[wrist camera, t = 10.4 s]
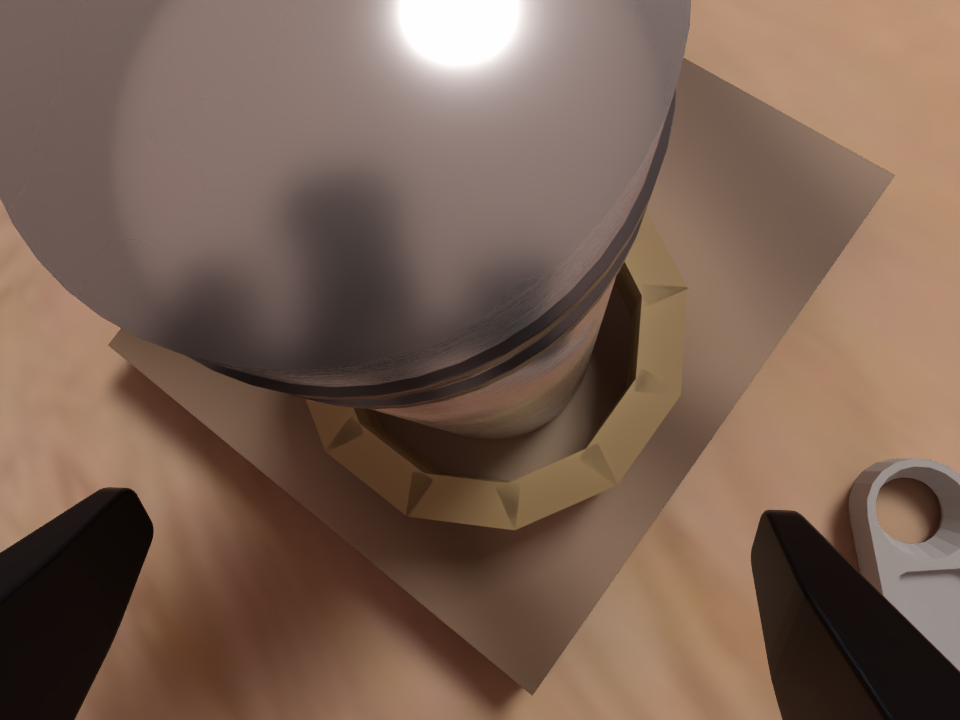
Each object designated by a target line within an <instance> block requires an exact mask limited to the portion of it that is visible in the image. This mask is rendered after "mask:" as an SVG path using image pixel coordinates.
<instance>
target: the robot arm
mask: <svg viewBox="0 0 960 720" xmlns="http://www.w3.org/2000/svg"><path fill="white" fill-rule="evenodd" d="M152 539H153V524H152V521H151V520H150V518H149V516H148V514H147V512H146V510H145V509H144V507H143V505H142V503H141V501H140V499H139V498H138V496H137V494H136V493H135V492H134V491H133V490H131V489H129V488H112V487H108V488H103V489H100V490H98V491H97V492H95V493H93V494H92V495H90V496H89V497H87V498H86V499H84V500H82V501H81V502H79V503H78V504H76V505H75V506H73V507H71V508H70V509H68V510H67V511H65V512H64V513H62V514H60V515H59V516H57V517H56V518H54V519H53V520H51V521H50V522H48V523H46V524H45V525H43V526H42V527H40V528H39V529H37V530H35V531H34V532H32V533H31V534H29V535H28V536H26V537H24V538H23V539H21V540H20V541H18V542H17V543H15V544H14V545H12V546H10V547H9V548H7V549H6V550H4V551H3V552H1V553H0V720H75V718H76V716H77V714H78V712H79V710H80V708H81V706H82V704H83V702H84V700H85V698H86V696H87V694H88V691H89V689H90V687H91V685H92V683H93V681H94V679H95V677H96V675H97V673H98V671H99V669H100V667H101V665H102V663H103V661H104V659H105V657H106V655H107V653H108V651H109V649H110V647H111V644H112V642H113V640H114V638H115V636H116V633H117V631H118V628H119V626H120V623H121V621H122V619H123V616H124V613H125V611H126V608H127V605H128V603H129V600H130V597H131V595H132V592H133V590H134V587H135V584H136V582H137V579H138V576H139V574H140V571H141V568H142V566H143V563H144V561H145V558H146V555H147V553H148V550H149V547H150V545H151V542H152ZM751 565H752V572H753V578H754V583H755V589H756V595H757V601H758V607H759V612H760V618H761V624H762V630H763V636H764V641H765V647H766V653H767V659H768V664H769V669H770V675H771V680H772V683H773V687H774V691H775V695H776V699H777V702H778V706H779V709H780V713H781V716H782V719H783V720H960V671H959V670H958V669H957V668H956V667H955V666H954V665H953V664H952V663H951V662H950V661H949V660H948V659H947V658H946V657H945V656H944V655H943V654H942V653H941V652H940V651H939V650H938V649H937V648H936V647H935V646H934V645H933V644H932V643H931V642H930V641H929V640H928V639H927V638H926V637H925V636H924V635H923V634H922V633H921V632H920V631H919V630H918V629H917V628H916V627H915V626H914V625H913V624H912V623H911V622H910V621H909V620H908V619H907V618H906V617H904V616H903V615H902V614H901V613H900V612H899V611H898V610H897V609H896V608H895V607H894V606H893V605H892V604H891V603H890V602H889V601H888V600H887V599H886V598H885V597H884V596H883V595H882V594H881V593H880V592H879V591H878V590H877V589H876V588H875V587H874V586H873V585H872V584H871V583H870V582H869V581H868V580H867V579H866V578H865V577H864V576H863V575H862V574H861V573H860V572H859V571H858V570H857V569H856V568H855V567H854V566H853V565H852V564H851V563H850V562H849V561H848V560H847V559H846V558H845V557H844V556H843V555H842V554H841V553H840V552H839V551H838V550H837V549H836V548H835V547H834V546H833V545H832V544H831V543H830V542H829V541H828V540H827V539H826V538H825V537H824V536H823V535H822V534H821V533H820V532H819V531H818V530H816V529H815V528H814V527H813V526H812V525H811V524H810V523H809V522H808V521H807V520H806V519H805V518H804V517H803V516H802V515H801V514H799V513H798V512H796V511H789V510H766V511H765V512H764V513H763V514H762V516H761V518H760V522H759V525H758V529H757V532H756V536H755V539H754V543H753V546H752V550H751Z"/></svg>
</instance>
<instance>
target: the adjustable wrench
mask: <svg viewBox="0 0 960 720" xmlns="http://www.w3.org/2000/svg"><path fill="white" fill-rule="evenodd" d="M901 477H904V478H913V479H916V480H919V481H922V482H924V483H925V484H926V485H928V486H929V487H930V488H931V489H932V490H933V491H934V493H935V494H936V495H937V498H938V501H939V503H940V506H941V521H940V524H939V528H938V530H937V531H936V533H935V534H934V535H933V537H932V538H930V539H929V540H927V541H926V542H921V543H917V544H909V543H903V542H900V541H897V540H895V539H893V538H891V537H890V536H889V535H888V534H886V533H885V532H884V531H883V530H882V528H881V527H880V525H879V522H878V520H877V517H876V499H877V496H878V493H879V489H880V488H881V487H882V486H883V485H884V484H885V483H887V482H889V481H890V480H893V479H897V478H901ZM849 516H850V522H851V527H852V532H853V537H854V543H855V548H856V553H857V559H858V564H859V569H860V573H861V574H862V575H863V576H864V577H865V578H866V579H867V580H868V581H869V582H870V583H871V584H872V585H873V586H874V587H875V588H876V589H877V590H878V591H879V592H880V593H881V594H882V595H883V596H884V597H885V598H886V599H887V600H888V601H889V602H890V603H891V604H892V605H893V606H894V607H895V608H896V609H897V610H898V611H899V612H900V613H901V614H902V615H903V616H904V617H906V618H907V619H908V620H909V621H910V622H911V623H912V624H913V625H914V626H915V627H916V628H917V629H918V630H919V631H920V632H921V633H922V634H923V635H924V636H925V637H926V638H927V639H928V640H929V641H930V642H931V643H932V644H933V645H934V646H935V647H936V648H937V649H938V650H939V651H940V652H941V653H942V654H943V655H944V656H945V657H946V658H947V659H948V660H949V661H950V662H951V663H952V664H953V665H954V666H955V667H956V668H957V669H958V670H959V671H960V474H958V473H957V472H956V471H954V470H953V469H951V468H950V467H949V466H947V465H944V464H941V463H938V462H936V461H933V460H928V459H914V458H911V459H890V460H886V461H881V462H877V463H875V464H873V465H872V466H870V467H869V468H867V469H865V470H864V471H863V472H862V473H861V474H860V475H859V477H858V478H857V479H856V480H855V482H854V483H853V486H852V489H851V492H850V495H849Z"/></svg>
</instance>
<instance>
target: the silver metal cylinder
mask: <svg viewBox="0 0 960 720" xmlns="http://www.w3.org/2000/svg"><path fill="white" fill-rule="evenodd" d="M690 6H691V0H0V198H1V200H2V202H3V204H4V206H5V208H6V210H7V212H8V214H9V216H10V219H11V221H12V223H13V225H14V226H15V228H16V229H17V230H18V232H19V233H20V235H21V236H22V238H23V239H24V241H25V242H26V243H27V245H28V246H29V248H30V249H31V251H32V252H33V254H34V255H35V256H36V258H37V259H38V260H39V261H40V262H41V263H42V265H43V266H44V267H45V268H46V269H47V270H48V271H49V272H50V273H51V274H52V275H53V276H54V277H55V278H56V279H57V280H58V281H59V282H60V284H61V285H62V286H63V287H64V288H65V289H66V290H67V291H69V292H70V293H71V294H72V295H74V296H75V297H76V298H78V299H79V300H80V301H81V302H83V303H84V304H85V305H87V306H88V307H89V308H90V309H92V310H93V311H94V312H96V313H97V314H98V315H100V316H101V317H102V318H104V319H106V320H108V321H110V322H111V323H113V324H115V325H117V326H119V327H120V328H122V329H124V330H126V331H128V332H129V333H131V334H133V335H135V336H137V337H138V338H140V339H142V340H145V341H148V342H150V343H153V344H156V345H158V346H161V347H164V348H166V349H169V350H172V351H174V352H177V353H180V354H182V355H185V356H187V357H189V358H191V359H193V360H194V361H196V362H198V363H200V364H202V365H204V366H205V367H207V368H209V369H211V370H213V371H215V372H218V373H220V374H223V375H226V376H228V377H231V378H234V379H236V380H239V381H242V382H244V383H247V384H249V385H253V386H257V387H261V388H265V389H269V390H273V391H278V392H282V393H287V394H289V395H292V396H296V397H300V398H304V399H308V400H312V401H317V402H321V403H326V404H330V405H335V406H340V407H353V408H365V409H372V410H375V411H378V412H382V413H385V414H389V415H392V416H396V417H399V418H403V419H406V420H410V421H413V422H416V423H420V424H423V425H427V426H430V427H434V428H437V429H441V430H444V431H448V432H451V433H454V434H458V435H461V436H465V437H469V438H474V439H481V440H504V439H509V438H515V437H518V436H521V435H525V434H528V433H530V432H532V431H534V430H536V429H538V428H540V427H542V426H543V425H545V424H547V423H548V422H550V421H551V420H552V419H554V418H555V417H556V416H557V415H558V414H559V413H561V412H562V411H563V409H564V408H565V407H566V406H567V405H568V404H569V403H570V401H571V400H572V398H573V397H574V396H575V394H576V393H577V391H578V389H579V387H580V385H581V383H582V381H583V379H584V376H585V373H586V370H587V367H588V364H589V361H590V358H591V355H592V351H593V348H594V345H595V342H596V339H597V336H598V332H599V329H600V326H601V323H602V320H603V317H604V313H605V310H606V307H607V304H608V301H609V298H610V294H611V291H612V288H613V285H614V282H615V278H616V276H617V274H618V273H619V271H620V269H621V267H622V265H623V263H624V261H625V259H626V257H627V256H628V254H629V252H630V250H631V248H632V246H633V244H634V242H635V240H636V237H637V234H638V232H639V229H640V226H641V223H642V220H643V217H644V214H645V211H646V208H647V206H648V203H649V200H650V197H651V194H652V192H653V189H654V186H655V183H656V180H657V177H658V174H659V171H660V168H661V165H662V163H663V160H664V157H665V154H666V151H667V148H668V142H669V137H670V132H671V127H672V122H673V116H674V111H675V100H676V85H677V82H678V79H679V76H680V72H681V67H682V62H683V57H684V52H685V46H686V41H687V36H688V31H689V26H690Z"/></svg>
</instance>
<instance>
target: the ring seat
mask: <svg viewBox="0 0 960 720" xmlns="http://www.w3.org/2000/svg"><path fill="white" fill-rule="evenodd" d="M894 176H895V175H894V174H892V173H890V172H889V171H887V170H885V169H883V168H881V167H880V166H878V165H876V164H874V163H872V162H871V161H869V160H867V159H865V158H863V157H862V156H860V155H858V154H856V153H854V152H853V151H851V150H849V149H847V148H845V147H844V146H842V145H840V144H838V143H836V142H835V141H833V140H831V139H829V138H827V137H825V136H824V135H822V134H820V133H818V132H816V131H815V130H813V129H811V128H809V127H807V126H806V125H804V124H802V123H800V122H798V121H797V120H795V119H793V118H791V117H789V116H788V115H786V114H784V113H782V112H780V111H779V110H777V109H775V108H773V107H771V106H770V105H768V104H766V103H764V102H762V101H761V100H759V99H757V98H755V97H753V96H752V95H750V94H748V93H746V92H744V91H743V90H741V89H739V88H737V87H735V86H734V85H732V84H730V83H728V82H726V81H724V80H723V79H721V78H719V77H717V76H715V75H714V74H712V73H710V72H708V71H706V70H705V69H703V68H701V67H699V66H697V65H696V64H694V63H692V62H690V61H688V60H687V59H685V58H683V62H682V67H681V72H680V76H679V79H678V82H677V85H676V100H675V111H674V116H673V122H672V127H671V132H670V137H669V142H668V148H667V151H666V154H665V157H664V160H663V163H662V165H661V168H660V171H659V174H658V177H657V180H656V183H655V186H654V189H653V192H652V194H651V197H650V200H649V203H648V206H647V208H646V211H645V214H644V217H643V220H642V223H641V226H640V229H639V232H638V234H637V237H636V240H635V242H634V244H633V246H632V248H631V250H630V252H629V254H628V256H627V257H626V259H625V261H624V263H623V265H622V267H621V269H620V271H619V273H618V274H617V276H616V278H615V282H614V285H613V288H612V291H611V294H610V298H609V301H608V304H607V307H606V310H605V313H604V317H603V320H602V323H601V326H600V329H599V332H598V336H597V339H596V342H595V345H594V348H593V351H592V355H591V358H590V361H589V364H588V367H587V370H586V373H585V376H584V379H583V381H582V383H581V385H580V387H579V389H578V391H577V393H576V394H575V396H574V397H573V398H572V400H571V401H570V403H569V404H568V405H567V406H566V407H565V408H564V409H563V411H562V412H561V413H559V414H558V415H557V416H556V417H555V418H554V419H552V420H551V421H550V422H548V423H547V424H545V425H543V426H542V427H540V428H538V429H536V430H534V431H532V432H530V433H528V434H525V435H521V436H518V437H515V438H509V439H504V440H481V439H474V438H469V437H465V436H461V435H458V434H454V433H451V432H448V431H444V430H441V429H437V428H434V427H430V426H427V425H423V424H420V423H416V422H413V421H410V420H406V419H403V418H399V417H396V416H392V415H389V414H385V413H382V412H378V411H375V410H372V409H365V408H353V407H340V406H335V405H330V404H326V403H321V402H317V401H312V400H308V399H304V398H300V397H296V396H292V395H289V394H287V393H282V392H278V391H273V390H269V389H265V388H261V387H257V386H253V385H249V384H247V383H244V382H242V381H239V380H236V379H234V378H231V377H228V376H226V375H223V374H220V373H218V372H215V371H213V370H211V369H209V368H207V367H205V366H204V365H202V364H200V363H198V362H196V361H194V360H193V359H191V358H189V357H187V356H185V355H182V354H180V353H177V352H174V351H172V350H169V349H166V348H164V347H161V346H158V345H156V344H153V343H150V342H148V341H145V340H142V339H140V338H138V337H137V336H135V335H133V334H131V333H129V332H128V331H126V330H124V329H122V328H121V329H120V331H119V332H118V333H117V334H116V336H115V337H114V338H113V340H112V341H111V342H110V343H109V346H110V347H111V348H112V349H113V350H115V351H116V352H117V353H118V354H120V355H121V356H122V357H123V358H124V359H126V360H127V361H128V362H129V363H130V364H132V365H133V366H134V367H135V368H136V369H138V370H139V371H140V372H141V373H143V374H144V375H145V376H146V377H147V378H149V379H150V380H151V381H152V382H153V383H155V384H156V385H157V386H158V387H159V388H161V389H162V390H163V391H164V392H166V393H167V394H168V395H169V396H170V397H172V398H173V399H174V400H175V401H176V402H178V403H179V404H180V405H181V406H182V407H184V408H185V409H186V410H187V411H189V412H190V413H191V414H192V415H193V416H195V417H196V418H197V419H198V420H199V421H201V422H202V423H203V424H204V425H205V426H207V427H208V428H209V429H210V430H212V431H213V432H214V433H215V434H216V435H218V436H219V437H220V438H221V439H222V440H224V441H225V442H226V443H227V444H228V445H230V446H231V447H232V448H233V449H234V450H236V451H237V452H238V453H239V454H241V455H242V456H243V457H244V458H245V459H247V460H248V461H249V462H250V463H251V464H253V465H254V466H255V467H256V468H257V469H259V470H260V471H261V472H262V473H264V474H265V475H266V476H267V477H268V478H270V479H271V480H272V481H273V482H274V483H276V484H277V485H278V486H279V487H280V488H282V489H283V490H284V491H285V492H287V493H288V494H289V495H290V496H291V497H293V498H294V499H295V500H296V501H297V502H299V503H300V504H301V505H302V506H303V507H305V508H306V509H307V510H308V511H310V512H311V513H312V514H313V515H314V516H316V517H317V518H318V519H319V520H320V521H322V522H323V523H324V524H325V525H326V526H328V527H329V528H330V529H331V530H333V531H334V532H335V533H336V534H337V535H339V536H340V537H341V538H342V539H343V540H345V541H346V542H347V543H348V544H349V545H351V546H352V547H353V548H354V549H356V550H357V551H358V552H359V553H360V554H362V555H363V556H364V557H365V558H366V559H368V560H369V561H370V562H371V563H372V564H374V565H375V566H376V567H377V568H379V569H380V570H381V571H382V572H383V573H385V574H386V575H387V576H388V577H389V578H391V579H392V580H393V581H394V582H395V583H397V584H398V585H399V586H400V587H401V588H403V589H404V590H405V591H406V592H408V593H409V594H410V595H411V596H412V597H414V598H415V599H416V600H417V601H418V602H420V603H421V604H422V605H423V606H424V607H426V608H427V609H428V610H429V611H431V612H432V613H433V614H434V615H435V616H437V617H438V618H439V619H440V620H441V621H443V622H444V623H445V624H446V625H447V626H449V627H450V628H451V629H452V630H454V631H455V632H456V633H457V634H458V635H460V636H461V637H462V638H463V639H464V640H466V641H467V642H468V643H469V644H470V645H472V646H473V647H474V648H475V649H477V650H478V651H479V652H480V653H481V654H483V655H484V656H485V657H486V658H487V659H489V660H490V661H491V662H492V663H493V664H495V665H496V666H497V667H498V668H500V669H501V670H502V671H503V672H504V673H506V674H507V675H508V676H509V677H510V678H512V679H513V680H514V681H515V682H516V683H518V684H519V685H520V686H521V687H523V688H524V689H525V690H526V691H527V692H529V693H530V694H531V695H533V694H534V693H535V691H536V690H537V688H538V687H539V685H540V684H541V682H542V681H543V680H544V678H545V677H546V675H547V674H548V672H549V671H550V670H551V668H552V667H553V665H554V664H555V662H556V661H557V660H558V658H559V657H560V655H561V654H562V652H563V651H564V650H565V648H566V647H567V645H568V644H569V642H570V641H571V639H572V638H573V637H574V635H575V634H576V632H577V631H578V629H579V628H580V627H581V625H582V624H583V622H584V621H585V619H586V618H587V617H588V615H589V614H590V612H591V611H592V609H593V608H594V606H595V605H596V604H597V602H598V601H599V599H600V598H601V596H602V595H603V594H604V592H605V591H606V589H607V588H608V586H609V585H610V584H611V582H612V581H613V579H614V578H615V576H616V575H617V574H618V572H619V571H620V569H621V568H622V566H623V565H624V563H625V562H626V561H627V559H628V558H629V556H630V555H631V553H632V552H633V551H634V549H635V548H636V546H637V545H638V543H639V542H640V541H641V539H642V538H643V536H644V535H645V533H646V532H647V531H648V529H649V528H650V526H651V525H652V523H653V522H654V520H655V519H656V518H657V516H658V515H659V513H660V512H661V510H662V509H663V508H664V506H665V505H666V503H667V502H668V500H669V499H670V498H671V496H672V495H673V493H674V492H675V490H676V489H677V487H678V486H679V485H680V483H681V482H682V480H683V479H684V477H685V476H686V475H687V473H688V472H689V470H690V469H691V467H692V466H693V465H694V463H695V462H696V460H697V459H698V457H699V456H700V455H701V453H702V452H703V450H704V449H705V447H706V446H707V444H708V443H709V442H710V440H711V439H712V437H713V436H714V434H715V433H716V432H717V430H718V429H719V427H720V426H721V424H722V423H723V422H724V420H725V419H726V417H727V416H728V414H729V413H730V412H731V410H732V409H733V407H734V406H735V404H736V403H737V401H738V400H739V399H740V397H741V396H742V394H743V393H744V391H745V390H746V389H747V387H748V386H749V384H750V383H751V381H752V380H753V379H754V377H755V376H756V374H757V373H758V371H759V370H760V369H761V367H762V366H763V364H764V363H765V361H766V360H767V358H768V357H769V356H770V354H771V353H772V351H773V350H774V348H775V347H776V346H777V344H778V343H779V341H780V340H781V338H782V337H783V336H784V334H785V333H786V331H787V330H788V328H789V327H790V325H791V324H792V323H793V321H794V320H795V318H796V317H797V315H798V314H799V313H800V311H801V310H802V308H803V307H804V305H805V304H806V303H807V301H808V300H809V298H810V297H811V295H812V294H813V293H814V291H815V290H816V288H817V287H818V285H819V284H820V282H821V281H822V280H823V278H824V277H825V275H826V274H827V272H828V271H829V270H830V268H831V267H832V265H833V264H834V262H835V261H836V260H837V258H838V257H839V255H840V254H841V252H842V251H843V250H844V248H845V247H846V245H847V244H848V242H849V241H850V239H851V238H852V237H853V235H854V234H855V232H856V231H857V229H858V228H859V227H860V225H861V224H862V222H863V221H864V219H865V218H866V217H867V215H868V214H869V212H870V211H871V209H872V208H873V206H874V205H875V204H876V202H877V201H878V199H879V198H880V196H881V195H882V194H883V192H884V191H885V189H886V188H887V186H888V185H889V184H890V182H891V181H892V179H893V178H894Z"/></svg>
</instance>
